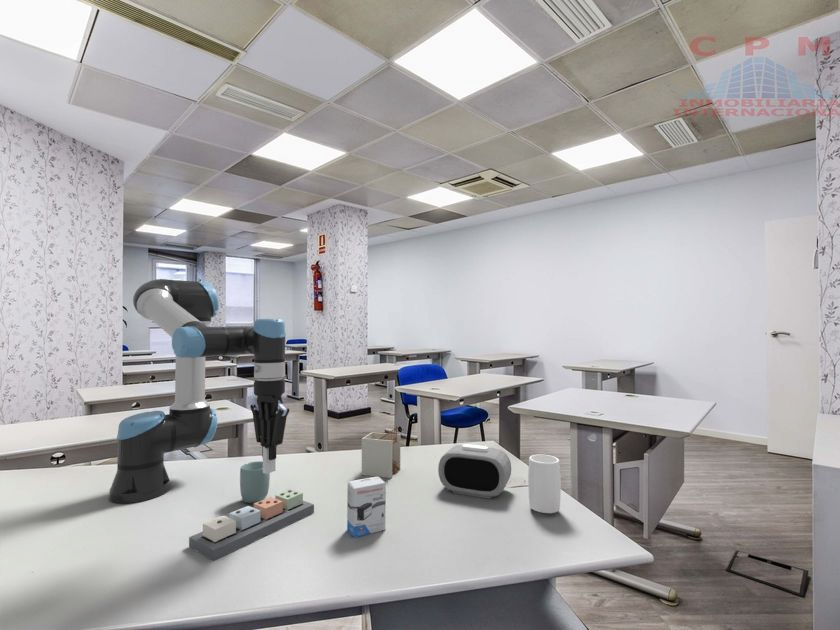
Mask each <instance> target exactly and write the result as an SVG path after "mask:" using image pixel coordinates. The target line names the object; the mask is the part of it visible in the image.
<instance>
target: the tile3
mask: <svg viewBox="0 0 840 630" xmlns="http://www.w3.org/2000/svg"><path fill="white" fill-rule="evenodd" d="M253 508H255V509H258V510H260V511H261V518H263V520H269V519H270V518H274V517H273V516H275V515H277V514H279V513H282V512H283V501H280V500H277V499H275V497H271V496H269V497H266V498H265V499H264V500H262V501H259V502H256V503H253Z"/></svg>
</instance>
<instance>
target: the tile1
mask: <svg viewBox="0 0 840 630" xmlns="http://www.w3.org/2000/svg"><path fill="white" fill-rule="evenodd" d="M202 532H203V536H204V537H206V538H208V539H210V540H212V541H213V542H215V543H217V542H219V541H221V540H224V538H225V537H227V536H230V535H232V534H234V533H236V521H235V520H233V519H231V518H230V517H228V516H226V515H222V516H219V517H216V518H214V519H211V520H209V521H206V522H203V523H202ZM225 539H226V538H225Z"/></svg>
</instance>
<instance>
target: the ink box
mask: <svg viewBox="0 0 840 630" xmlns="http://www.w3.org/2000/svg"><path fill="white" fill-rule="evenodd" d="M386 485H387V484H386V481H384V480H383V479H382V477H377V476H370V477H367V478H361V479H355V480H349V482H347V495H346V496H347V501H346V502H347V506H346V507H347V511H346V513H347V514H346V517H347V521H346V523H347V524H346V528H347V529H346V530H347V531H348V533H349V534H350V535H351V536H352V537H353V538H354V537H355V538H358V536H359V537H362V535H363V536H366V535H369V533H370V534H373V533H378V532H382V530H383V531H385V530H386V519H387V517H386V509H387V505H386V503H387V502H386V497H387V495H386V491H387V490H386V488H387V487H386Z"/></svg>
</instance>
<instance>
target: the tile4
mask: <svg viewBox="0 0 840 630" xmlns="http://www.w3.org/2000/svg"><path fill="white" fill-rule="evenodd" d="M274 496H275V497H274V498H275V499H277V500H280V501H283V509H286V510H285V511H288V510H289V511H290V509H291V510H292V509H293V507H295V506H298V505H300V504H302V503H303V501H304V499H303V496H304V495H303V492H300V491H297V490H295V489H291V488H290V489H288V490H285V491H282V492H279V493H277V494H275V495H274Z"/></svg>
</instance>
